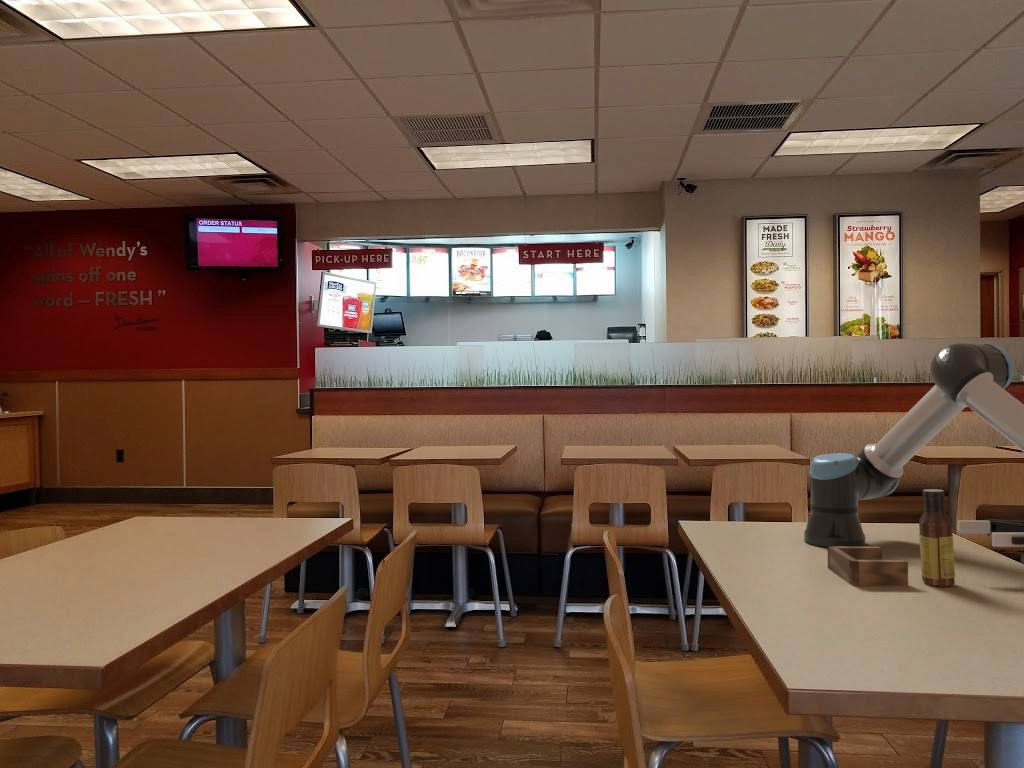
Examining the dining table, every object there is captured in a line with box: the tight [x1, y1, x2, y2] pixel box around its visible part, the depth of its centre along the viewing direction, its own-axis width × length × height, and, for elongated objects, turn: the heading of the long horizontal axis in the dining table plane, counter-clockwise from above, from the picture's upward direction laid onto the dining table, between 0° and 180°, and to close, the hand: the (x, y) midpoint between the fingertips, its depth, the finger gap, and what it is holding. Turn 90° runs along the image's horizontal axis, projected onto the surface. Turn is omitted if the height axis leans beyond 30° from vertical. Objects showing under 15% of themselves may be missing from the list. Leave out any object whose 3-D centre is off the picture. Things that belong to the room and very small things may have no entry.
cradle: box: [827, 546, 909, 587], centre depth 168 cm, size 12×15×5 cm
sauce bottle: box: [918, 488, 956, 588], centre depth 161 cm, size 7×6×20 cm
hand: (974, 533), depth 160 cm, fingers open, 13 cm apart
